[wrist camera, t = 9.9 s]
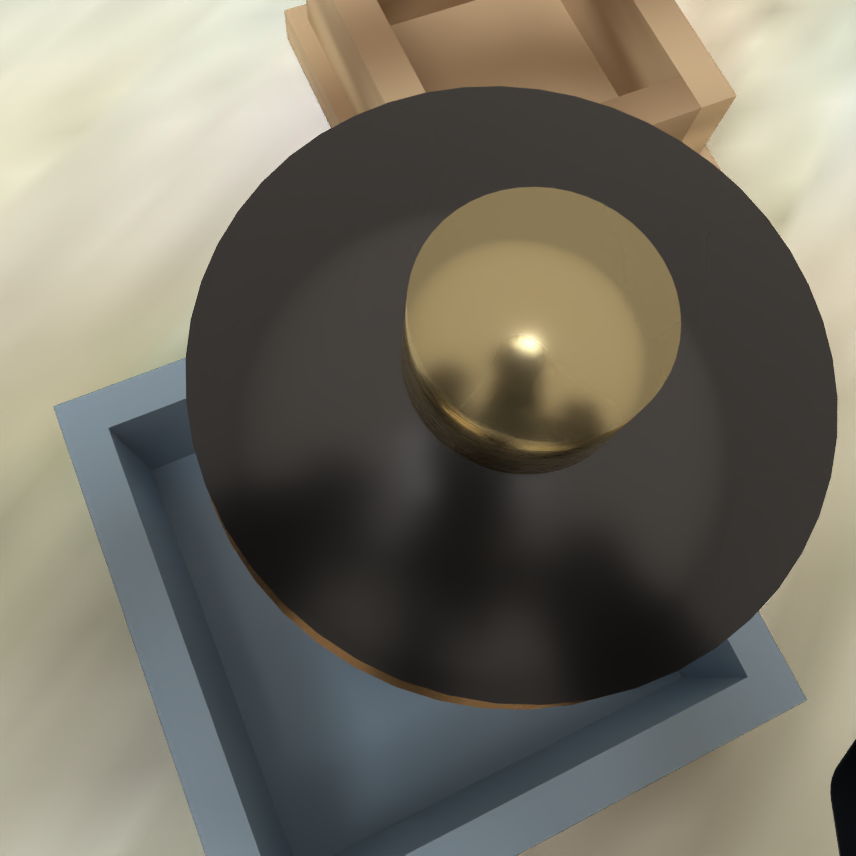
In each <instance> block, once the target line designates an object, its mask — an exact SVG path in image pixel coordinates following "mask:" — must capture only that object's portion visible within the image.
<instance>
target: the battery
mask: <svg viewBox="0 0 856 856" xmlns="http://www.w3.org/2000/svg"><path fill="white" fill-rule="evenodd" d="M186 404H187V411H188V417H189V423H190V430H191V436H192V443H193V447H194V450H195V453H196V456H197V460H198V463H199V466H200V469H201V473H202V476H203V479H204V483H205V486H206V488H207V490H208V492H209V495H210V498H211V501H212V504H213V507H214V509H215V511H216V513H217V515H218V517H219V520H220V522H221V524H222V526H223V528H224V530H225V532H226V535H227V537H228V539H229V541H230V543H231V545H232V546H233V548H234V549H235V551H236V552H237V554H238V556H239V557H240V559H241V560H242V562H243V563H244V565H245V566H246V568H247V569H248V571H249V572H250V574H251V576H252V577H253V579H254V580H255V581H256V582H257V584H258V585H259V586H260V587H261V588H262V589H263V590H264V592H265V593H266V594H267V595H268V596H269V597H270V598H271V600H272V601H273V602H274V603H275V604H276V605H277V607H278V608H279V609H280V610H281V611H282V612H283V613H284V614H285V615H286V616H287V617H288V618H289V619H291V620H292V621H293V622H294V623H295V624H296V625H297V626H299V627H300V628H301V629H302V630H303V631H304V632H305V633H306V634H308V635H309V636H310V637H311V638H312V639H313V640H314V641H316V642H317V643H318V644H320V645H321V646H323V647H324V648H326V649H327V650H329V651H330V652H332V653H334V654H335V655H337V656H338V657H340V658H341V659H343V660H344V661H346V662H347V663H349V664H350V665H352V666H353V667H355V668H357V669H359V670H361V671H363V672H365V673H367V674H370V675H372V676H374V677H376V678H378V679H380V680H382V681H384V682H386V683H388V684H390V685H393V686H395V687H397V688H401V689H404V690H407V691H410V692H413V693H416V694H419V695H423V696H426V697H429V698H432V699H435V700H438V701H444V702H450V703H455V704H461V705H467V706H473V707H478V708H489V709H520V710H530V709H539V708H549V707H558V706H567V705H574V704H578V703H582V702H586V701H589V700H593V699H597V698H601V697H605V696H609V695H613V694H616V693H620V692H624V691H628V690H632V689H635V688H638V687H641V686H643V685H645V684H648V683H650V682H652V681H655V680H657V679H660V678H662V677H664V676H667V675H669V674H672V673H674V672H676V671H679V670H680V669H682V668H684V667H685V666H687V665H689V664H690V663H692V662H694V661H695V660H697V659H699V658H700V657H702V656H704V655H705V654H707V653H709V652H710V651H712V650H713V649H715V648H717V647H718V646H719V645H720V644H722V643H723V642H724V641H725V640H726V639H728V638H729V637H730V636H731V635H732V634H734V633H735V632H736V631H737V630H739V629H740V628H741V627H742V626H743V625H745V624H746V623H747V622H748V621H749V620H751V618H752V617H753V616H754V615H755V614H756V613H757V612H758V611H759V609H760V608H761V607H762V606H763V605H764V604H765V603H766V602H767V601H768V599H769V598H770V597H771V596H772V595H773V594H774V593H775V592H776V591H777V589H778V588H779V587H780V585H781V584H782V582H783V581H784V579H785V578H786V576H787V575H788V573H789V572H790V570H791V569H792V567H793V566H794V564H795V563H796V561H797V560H798V558H799V557H800V555H801V554H802V552H803V549H804V547H805V545H806V543H807V541H808V539H809V537H810V534H811V532H812V530H813V528H814V526H815V524H816V522H817V519H818V517H819V515H820V511H821V508H822V505H823V501H824V498H825V495H826V491H827V488H828V485H829V481H830V478H831V473H832V466H833V459H834V453H835V446H836V439H837V391H836V383H835V375H834V367H833V359H832V355H831V351H830V347H829V343H828V339H827V335H826V331H825V328H824V324H823V320H822V318H821V315H820V312H819V310H818V307H817V305H816V302H815V300H814V297H813V295H812V292H811V290H810V287H809V285H808V283H807V281H806V279H805V277H804V275H803V274H802V272H801V270H800V268H799V266H798V264H797V263H796V261H795V259H794V257H793V255H792V253H791V252H790V250H789V248H788V247H787V245H786V244H785V243H784V241H783V240H782V238H781V237H780V236H779V234H778V233H777V231H776V230H775V229H774V227H773V226H772V224H771V223H770V221H769V220H768V219H767V217H766V216H765V215H764V214H763V213H762V212H761V211H760V210H759V209H758V207H757V206H756V205H755V204H754V203H753V202H752V201H751V200H750V198H749V197H748V196H747V195H746V194H745V193H744V192H743V191H742V190H741V189H740V188H739V187H738V186H737V185H736V184H735V183H734V182H733V181H731V180H730V179H729V178H728V177H727V176H726V175H725V174H724V173H722V172H721V171H720V170H719V169H718V168H717V167H716V166H715V165H713V164H712V163H711V162H709V161H708V160H707V159H705V158H704V157H702V156H701V155H700V154H698V153H697V152H695V151H694V150H693V149H691V148H690V147H688V146H687V145H686V144H684V143H683V142H681V141H680V140H678V139H676V138H674V137H673V136H671V135H669V134H667V133H665V132H664V131H662V130H660V129H658V128H656V127H655V126H653V125H651V124H649V123H648V122H645V121H643V120H641V119H638V118H636V117H634V116H631V115H629V114H626V113H624V112H622V111H619V110H617V109H615V108H612V107H609V106H606V105H603V104H599V103H596V102H593V101H590V100H586V99H583V98H580V97H576V96H572V95H566V94H561V93H556V92H551V91H545V90H540V89H530V88H518V87H505V86H489V87H461V88H454V89H447V90H440V91H433V92H426V93H422V94H418V95H415V96H411V97H407V98H403V99H399V100H396V101H392V102H388V103H386V104H383V105H381V106H378V107H376V108H373V109H370V110H368V111H365V112H363V113H360V114H358V115H355V116H353V117H351V118H349V119H348V120H346V121H344V122H342V123H340V124H338V125H336V126H335V127H333V128H331V129H329V130H327V131H325V132H324V133H322V134H320V135H319V136H317V137H316V138H314V139H313V140H312V141H310V142H309V143H308V144H306V145H305V146H303V147H302V148H301V149H299V150H298V151H296V152H295V153H294V154H292V155H291V156H290V157H288V158H287V159H286V160H285V161H284V162H283V163H282V164H281V165H280V166H279V167H278V168H277V169H276V170H275V171H273V172H272V173H271V174H270V175H269V176H268V177H267V178H266V179H265V180H264V181H263V182H262V183H261V184H260V185H259V186H258V188H257V189H256V190H255V191H254V193H253V194H252V195H251V196H250V197H249V199H248V200H247V201H246V202H245V204H244V205H243V206H242V207H241V208H240V210H239V211H238V212H237V214H236V215H235V217H234V219H233V220H232V222H231V224H230V225H229V227H228V228H227V230H226V232H225V233H224V235H223V237H222V238H221V240H220V241H219V243H218V245H217V247H216V249H215V252H214V254H213V256H212V258H211V261H210V263H209V265H208V267H207V270H206V272H205V274H204V277H203V279H202V281H201V285H200V289H199V292H198V296H197V299H196V303H195V306H194V310H193V314H192V317H191V322H190V330H189V338H188V345H187V353H186Z"/></svg>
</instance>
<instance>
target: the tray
mask: <svg viewBox="0 0 856 856" xmlns="http://www.w3.org/2000/svg"><path fill="white" fill-rule="evenodd" d="M53 407H54V410H55V413H56V416H57V419H58V422H59V425H60V427H61V430H62V433H63V436H64V439H65V442H66V445H67V448H68V451H69V454H70V457H71V460H72V463H73V466H74V469H75V472H76V475H77V478H78V481H79V483H80V486H81V489H82V492H83V495H84V498H85V501H86V504H87V507H88V510H89V513H90V516H91V519H92V522H93V525H94V528H95V531H96V534H97V536H98V539H99V542H100V545H101V548H102V551H103V554H104V557H105V560H106V563H107V566H108V569H109V572H110V575H111V578H112V581H113V584H114V587H115V590H116V592H117V595H118V598H119V601H120V604H121V607H122V610H123V613H124V616H125V619H126V622H127V625H128V628H129V631H130V634H131V637H132V640H133V643H134V646H135V648H136V651H137V654H138V657H139V660H140V663H141V666H142V669H143V672H144V675H145V678H146V681H147V684H148V687H149V690H150V693H151V696H152V699H153V701H154V704H155V707H156V710H157V713H158V716H159V719H160V722H161V725H162V728H163V731H164V734H165V737H166V740H167V743H168V746H169V749H170V752H171V755H172V757H173V760H174V763H175V766H176V769H177V772H178V775H179V778H180V781H181V784H182V787H183V790H184V793H185V796H186V799H187V802H188V805H189V808H190V811H191V813H192V816H193V819H194V822H195V825H196V828H197V831H198V834H199V837H200V840H201V843H202V846H203V849H204V852H205V855H206V856H516V855H518V854H520V853H522V852H524V851H526V850H528V849H530V848H531V847H533V846H535V845H537V844H539V843H541V842H543V841H545V840H546V839H548V838H550V837H552V836H554V835H556V834H558V833H559V832H561V831H563V830H565V829H567V828H569V827H571V826H573V825H574V824H576V823H578V822H580V821H582V820H584V819H586V818H587V817H589V816H591V815H593V814H595V813H597V812H599V811H601V810H602V809H604V808H606V807H608V806H610V805H612V804H614V803H616V802H617V801H619V800H621V799H623V798H625V797H627V796H629V795H630V794H632V793H634V792H636V791H638V790H640V789H642V788H644V787H645V786H647V785H649V784H651V783H653V782H655V781H657V780H659V779H660V778H662V777H664V776H666V775H668V774H670V773H672V772H673V771H675V770H677V769H679V768H681V767H683V766H685V765H687V764H688V763H690V762H692V761H694V760H696V759H698V758H700V757H701V756H703V755H705V754H707V753H709V752H711V751H713V750H715V749H716V748H718V747H720V746H722V745H724V744H726V743H728V742H730V741H731V740H733V739H735V738H737V737H739V736H741V735H743V734H744V733H746V732H748V731H750V730H752V729H754V728H756V727H758V726H759V725H761V724H763V723H765V722H767V721H769V720H771V719H773V718H774V717H776V716H778V715H780V714H782V713H784V712H786V711H787V710H789V709H791V708H793V707H795V706H797V705H799V704H801V703H802V702H804V701H806V700H807V699H806V697H805V695H804V694H803V692H802V690H801V688H800V686H799V684H798V683H797V681H796V679H795V677H794V675H793V673H792V672H791V670H790V668H789V666H788V664H787V663H786V661H785V659H784V657H783V655H782V653H781V652H780V650H779V648H778V646H777V644H776V643H775V641H774V639H773V637H772V635H771V633H770V632H769V630H768V628H767V626H766V624H765V623H764V621H763V619H762V617H761V615H760V613H759V612H757V613H756V614H755V615H754V616H753V617H752V618H751V620H749V621H748V622H747V623H746V624H745V625H743V626H742V627H741V628H740V629H739V630H737V631H736V632H735V633H734V634H732V635H731V636H730V637H729V638H728V639H726V640H725V641H724V642H723V643H722V644H720V645H719V646H718V647H717V648H715V649H713V650H712V651H710V652H709V653H707V654H705V655H704V656H702V657H700V658H699V659H697V660H695V661H694V662H692V663H690V664H689V665H687V666H685V667H684V668H682V669H680V670H679V671H676V672H674V673H672V674H669V675H667V676H664V677H662V678H660V679H657V680H655V681H652V682H650V683H648V684H645V685H643V686H641V687H638V688H635V689H632V690H628V691H624V692H620V693H616V694H613V695H609V696H605V697H601V698H597V699H593V700H589V701H586V702H582V703H578V704H574V705H567V706H558V707H549V708H539V709H530V710H520V709H489V708H478V707H473V706H467V705H461V704H455V703H450V702H444V701H438V700H435V699H432V698H429V697H426V696H423V695H419V694H416V693H413V692H410V691H407V690H404V689H401V688H397V687H395V686H393V685H390V684H388V683H386V682H384V681H382V680H380V679H378V678H376V677H374V676H372V675H370V674H367V673H365V672H363V671H361V670H359V669H357V668H355V667H353V666H352V665H350V664H349V663H347V662H346V661H344V660H343V659H341V658H340V657H338V656H337V655H335V654H334V653H332V652H330V651H329V650H327V649H326V648H324V647H323V646H321V645H320V644H318V643H317V642H316V641H314V640H313V639H312V638H311V637H310V636H309V635H308V634H306V633H305V632H304V631H303V630H302V629H301V628H300V627H299V626H297V625H296V624H295V623H294V622H293V621H292V620H291V619H289V618H288V617H287V616H286V615H285V614H284V613H283V612H282V611H281V610H280V609H279V608H278V607H277V605H276V604H275V603H274V602H273V601H272V600H271V598H270V597H269V596H268V595H267V594H266V593H265V592H264V590H263V589H262V588H261V587H260V586H259V585H258V584H257V582H256V581H255V580H254V579H253V577H252V576H251V574H250V572H249V571H248V569H247V568H246V566H245V565H244V563H243V562H242V560H241V559H240V557H239V556H238V554H237V552H236V551H235V549H234V548H233V546H232V545H231V543H230V541H229V539H228V537H227V535H226V532H225V530H224V528H223V526H222V524H221V522H220V520H219V517H218V515H217V513H216V511H215V509H214V507H213V504H212V501H211V498H210V495H209V492H208V490H207V488H206V486H205V483H204V479H203V476H202V473H201V469H200V466H199V463H198V460H197V456H196V453H195V450H194V447H193V443H192V436H191V430H190V423H189V417H188V411H187V404H186V358H184V359H181V360H178V361H176V362H173V363H170V364H168V365H165V366H162V367H159V368H157V369H154V370H151V371H149V372H146V373H143V374H140V375H138V376H135V377H132V378H129V379H127V380H124V381H121V382H119V383H116V384H113V385H110V386H108V387H105V388H102V389H100V390H97V391H94V392H91V393H89V394H86V395H83V396H81V397H78V398H75V399H72V400H70V401H67V402H64V403H62V404H59V405H56V406H53Z"/></svg>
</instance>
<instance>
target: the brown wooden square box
mask: <svg viewBox="0 0 856 856" xmlns="http://www.w3.org/2000/svg"><path fill="white" fill-rule="evenodd" d="M306 2H307V4H305V5H301V6H298V7H295V8H291V9H288V10H284V13H285V21H286V29H287V38H288V40H289V42H290V44H291V46H292V48H293V50H294V52H295V55H296V57H297V59H298V61H299V63H300V65H301V67H302V69H303V71H304V73H305V75H306V77H307V79H308V81H309V83H310V85H311V87H312V90H313V92H314V94H315V96H316V98H317V100H318V102H319V104H320V106H321V108H322V110H323V112H324V114H325V116H326V118H327V120H328V122H329V124H330V127H331V128H333V127H335V126H336V125H338V124H340V123H342V122H344V121H346V120H348V119H349V118H351V117H353V116H355V115H358V114H360V113H363V112H365V111H368V110H370V109H373V108H376V107H378V106H381V105H383V104H386V103H388V102H392V101H396V100H399V99H403V98H407V97H411V96H415V95H418V94H422V93H426V92H433V91H440V90H447V89H454V88H461V87H489V86H505V87H518V88H530V89H540V90H545V91H551V92H556V93H561V94H566V95H572V96H576V97H580V98H583V99H586V100H590V101H593V102H596V103H599V104H603V105H606V106H609V107H612V108H615V109H617V110H619V111H622V112H624V113H626V114H629V115H631V116H634V117H636V118H638V119H641V120H643V121H645V122H648V123H649V124H651V125H653V126H655V127H656V128H658V129H660V130H662V131H664V132H665V133H667V134H669V135H671V136H673V137H674V138H676V139H678V140H680V141H681V142H683V143H684V144H686V145H687V146H688V147H690V148H691V149H693V150H694V151H695V152H697V153H698V154H700V155H701V156H702V157H704V158H705V159H707V160H708V161H709V162H711V163H712V164H713V165H715V166H716V167H717V168H718V169H719V170H720V168H719V166H718V164H717V163H716V161H715V160H714V158H713V157H712V155H711V153H710V152H709V150H708V149H707V147H706V145H705V144H706V143H707V141H708V140H709V138H710V137H711V135H712V133H713V132H714V130H715V129H716V127H717V126H718V124H719V122H720V121H721V119H722V118H723V116H724V115H725V113H726V111H727V110H728V108H729V107H730V105H731V104H732V102H733V100H734V99H735V97H736V96H737V95H736V94H735V92H734V91H733V89H732V88H731V86H730V85H729V83H728V81H727V80H726V78H725V77H724V75H723V74H722V72H721V71H720V69H719V68H718V66H717V65H716V63H715V62H714V60H713V59H712V57H711V55H710V54H709V52H708V51H707V49H706V48H705V46H704V45H703V43H702V42H701V40H700V39H699V37H698V36H697V34H696V33H695V31H694V29H693V28H692V26H691V25H690V23H689V22H688V20H687V19H686V17H685V16H684V14H683V13H682V11H681V10H680V8H679V7H678V5H677V3H676V2H675V0H306Z"/></svg>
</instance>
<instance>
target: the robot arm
mask: <svg viewBox="0 0 856 856" xmlns="http://www.w3.org/2000/svg"><path fill="white" fill-rule="evenodd" d="M831 802H832V809H833V815H834V822H835V828H836V835H837V841H838V848H839V854H840V856H856V740H855V741H854V742H853V744H852V745H851V747H850V748H849V750H848V751H847V753H846V754H845V756H844V757H843V759H842V760H841V762H840V763H839V764H838V766H837V767H836V769H835V771H834V774H833V777H832V781H831Z"/></svg>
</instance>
